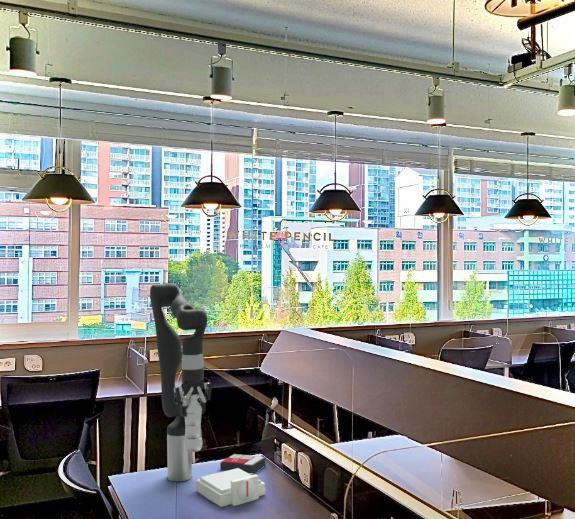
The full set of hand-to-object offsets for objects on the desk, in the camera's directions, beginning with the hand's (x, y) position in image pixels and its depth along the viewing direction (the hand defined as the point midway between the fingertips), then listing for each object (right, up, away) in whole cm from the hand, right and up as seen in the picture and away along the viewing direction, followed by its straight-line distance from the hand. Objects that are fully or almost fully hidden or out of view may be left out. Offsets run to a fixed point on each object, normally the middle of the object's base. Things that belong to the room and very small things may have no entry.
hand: (192, 414), depth 208 cm
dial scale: (+13, -29, +5) cm, 33 cm away
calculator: (+15, -30, +32) cm, 47 cm away
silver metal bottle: (0, -13, 0) cm, 13 cm away
